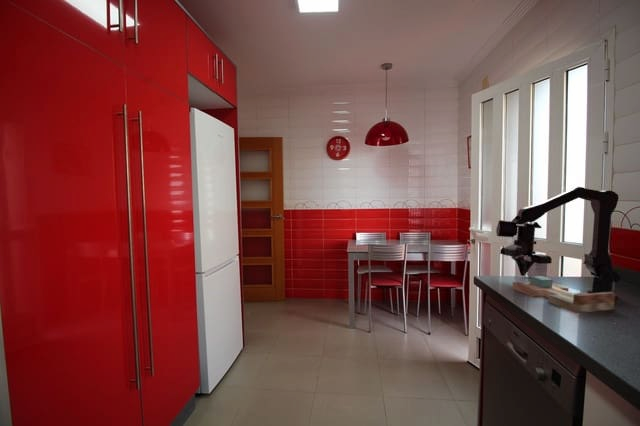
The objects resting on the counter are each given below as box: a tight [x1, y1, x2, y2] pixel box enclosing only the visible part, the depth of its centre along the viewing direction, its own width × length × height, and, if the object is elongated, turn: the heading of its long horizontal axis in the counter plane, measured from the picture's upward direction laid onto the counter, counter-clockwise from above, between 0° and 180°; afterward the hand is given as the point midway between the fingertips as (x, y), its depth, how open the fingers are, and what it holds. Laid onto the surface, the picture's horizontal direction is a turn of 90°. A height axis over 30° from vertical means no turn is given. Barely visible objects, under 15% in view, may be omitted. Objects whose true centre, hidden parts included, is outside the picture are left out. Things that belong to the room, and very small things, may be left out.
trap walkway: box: [511, 280, 616, 314], centre depth 109 cm, size 16×24×6 cm, turn 14°
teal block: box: [529, 276, 554, 288], centre depth 116 cm, size 5×5×3 cm
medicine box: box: [526, 263, 548, 278], centre depth 134 cm, size 8×4×9 cm, turn 168°
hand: (522, 275), depth 124 cm, fingers closed
